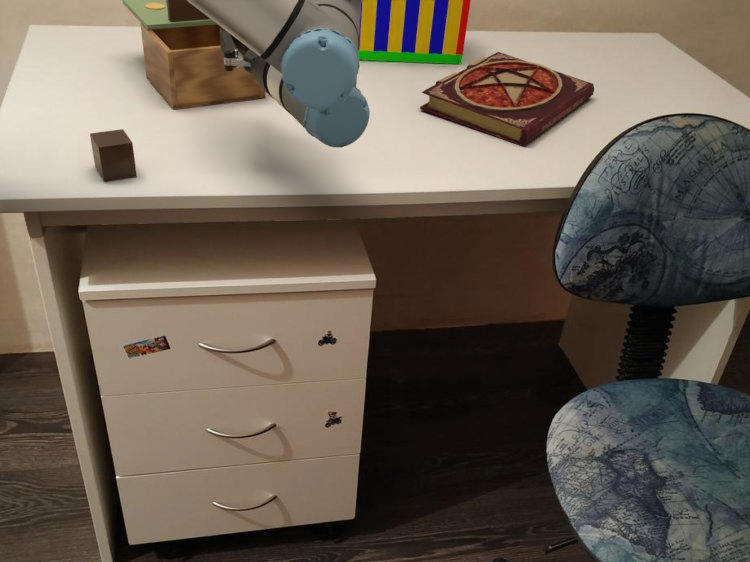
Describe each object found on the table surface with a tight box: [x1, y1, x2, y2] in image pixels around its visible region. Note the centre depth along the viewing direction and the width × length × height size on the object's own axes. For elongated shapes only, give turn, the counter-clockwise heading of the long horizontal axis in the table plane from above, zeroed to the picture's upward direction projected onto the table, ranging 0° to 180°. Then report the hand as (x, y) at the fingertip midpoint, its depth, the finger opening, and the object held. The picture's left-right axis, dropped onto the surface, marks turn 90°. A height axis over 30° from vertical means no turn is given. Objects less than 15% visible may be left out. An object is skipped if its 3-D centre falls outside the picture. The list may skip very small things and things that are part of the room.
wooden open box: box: [139, 22, 266, 110], centre depth 133 cm, size 16×14×9 cm
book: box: [419, 51, 595, 147], centre depth 141 cm, size 28×21×5 cm
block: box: [89, 128, 138, 183], centre depth 110 cm, size 4×4×5 cm
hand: (224, 19), depth 120 cm, fingers closed
